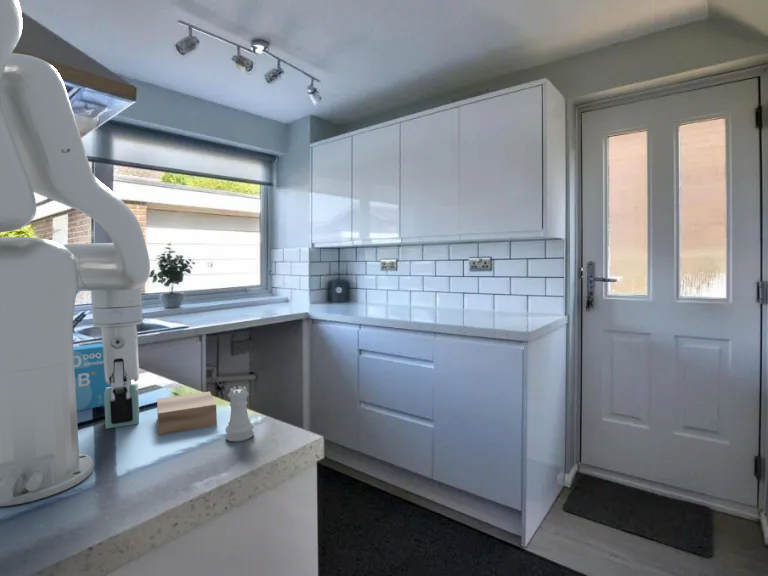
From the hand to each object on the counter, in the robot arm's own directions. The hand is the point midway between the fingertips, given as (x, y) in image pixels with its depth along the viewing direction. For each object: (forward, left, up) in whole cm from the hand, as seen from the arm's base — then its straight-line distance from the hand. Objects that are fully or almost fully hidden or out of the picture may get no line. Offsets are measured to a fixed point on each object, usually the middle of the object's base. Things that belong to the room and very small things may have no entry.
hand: (123, 416), depth 79 cm
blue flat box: (+13, +8, -1) cm, 15 cm away
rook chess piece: (-18, -17, -1) cm, 25 cm away
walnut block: (-6, -10, -1) cm, 12 cm away
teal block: (0, 0, -1) cm, 1 cm away
